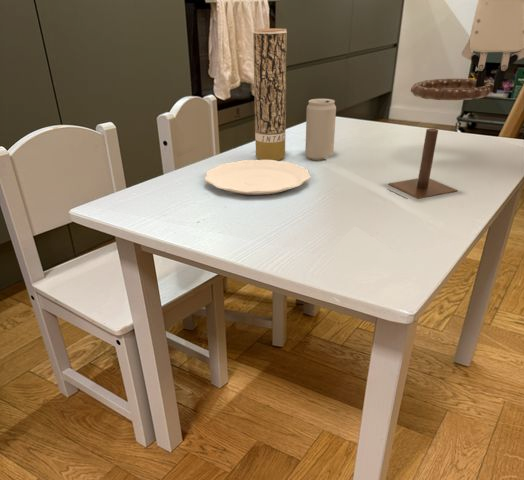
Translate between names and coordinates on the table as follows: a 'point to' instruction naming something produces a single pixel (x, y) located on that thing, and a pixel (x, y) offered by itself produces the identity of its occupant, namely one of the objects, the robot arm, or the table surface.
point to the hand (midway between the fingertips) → (487, 91)
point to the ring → (451, 89)
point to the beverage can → (320, 129)
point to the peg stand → (424, 174)
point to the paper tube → (270, 92)
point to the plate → (257, 176)
